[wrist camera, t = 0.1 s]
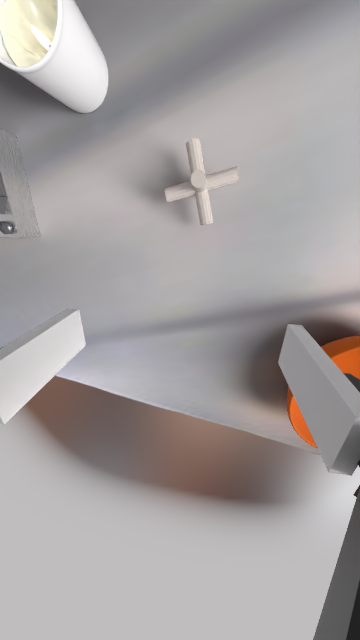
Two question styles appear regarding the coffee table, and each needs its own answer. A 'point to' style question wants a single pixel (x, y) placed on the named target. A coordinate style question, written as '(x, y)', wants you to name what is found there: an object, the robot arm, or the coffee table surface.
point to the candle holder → (54, 51)
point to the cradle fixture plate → (14, 192)
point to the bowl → (348, 356)
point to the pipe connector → (200, 182)
